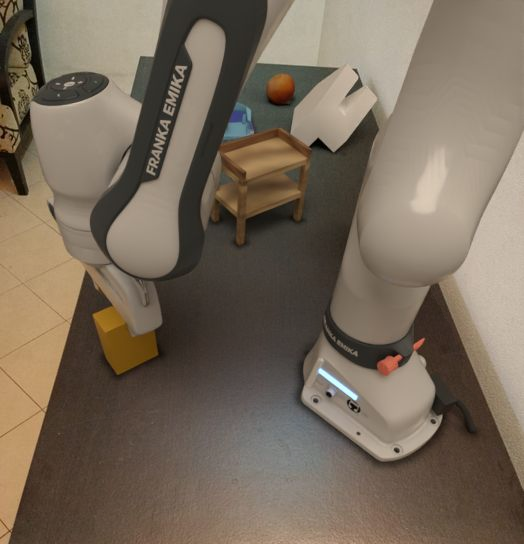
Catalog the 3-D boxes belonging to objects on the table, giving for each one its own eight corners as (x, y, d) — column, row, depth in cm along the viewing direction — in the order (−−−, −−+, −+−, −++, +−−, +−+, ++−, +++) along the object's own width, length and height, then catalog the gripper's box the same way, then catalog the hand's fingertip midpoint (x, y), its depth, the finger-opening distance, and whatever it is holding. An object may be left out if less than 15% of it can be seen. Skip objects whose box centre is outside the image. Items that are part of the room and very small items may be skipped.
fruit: (301, 103, 130) (289, 75, 124) (275, 116, 133) (262, 89, 127) (300, 91, 135) (288, 63, 129) (275, 103, 138) (263, 77, 132)
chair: (221, 168, 109) (221, 116, 100) (216, 150, 114) (216, 98, 105) (253, 167, 110) (257, 115, 101) (247, 149, 115) (250, 98, 106)
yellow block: (158, 355, 74) (151, 311, 66) (117, 375, 71) (105, 332, 63) (146, 338, 76) (137, 294, 68) (105, 358, 73) (92, 314, 65)
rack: (301, 219, 99) (312, 149, 87) (239, 245, 92) (242, 172, 80) (271, 196, 103) (279, 126, 91) (211, 219, 97) (210, 146, 85)
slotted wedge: (321, 163, 120) (378, 111, 109) (290, 133, 115) (346, 76, 104) (323, 137, 129) (376, 86, 117) (294, 108, 124) (346, 52, 112)
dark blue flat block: (254, 129, 119) (247, 107, 126) (222, 129, 117) (216, 107, 125) (254, 135, 120) (246, 112, 127) (222, 135, 118) (216, 113, 126)
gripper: (171, 270, 51) (177, 349, 62) (88, 178, 60) (107, 261, 71) (117, 292, 48) (134, 371, 59) (40, 192, 57) (66, 276, 68)
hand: (118, 310), depth 65 cm, fingers open, 8 cm apart
